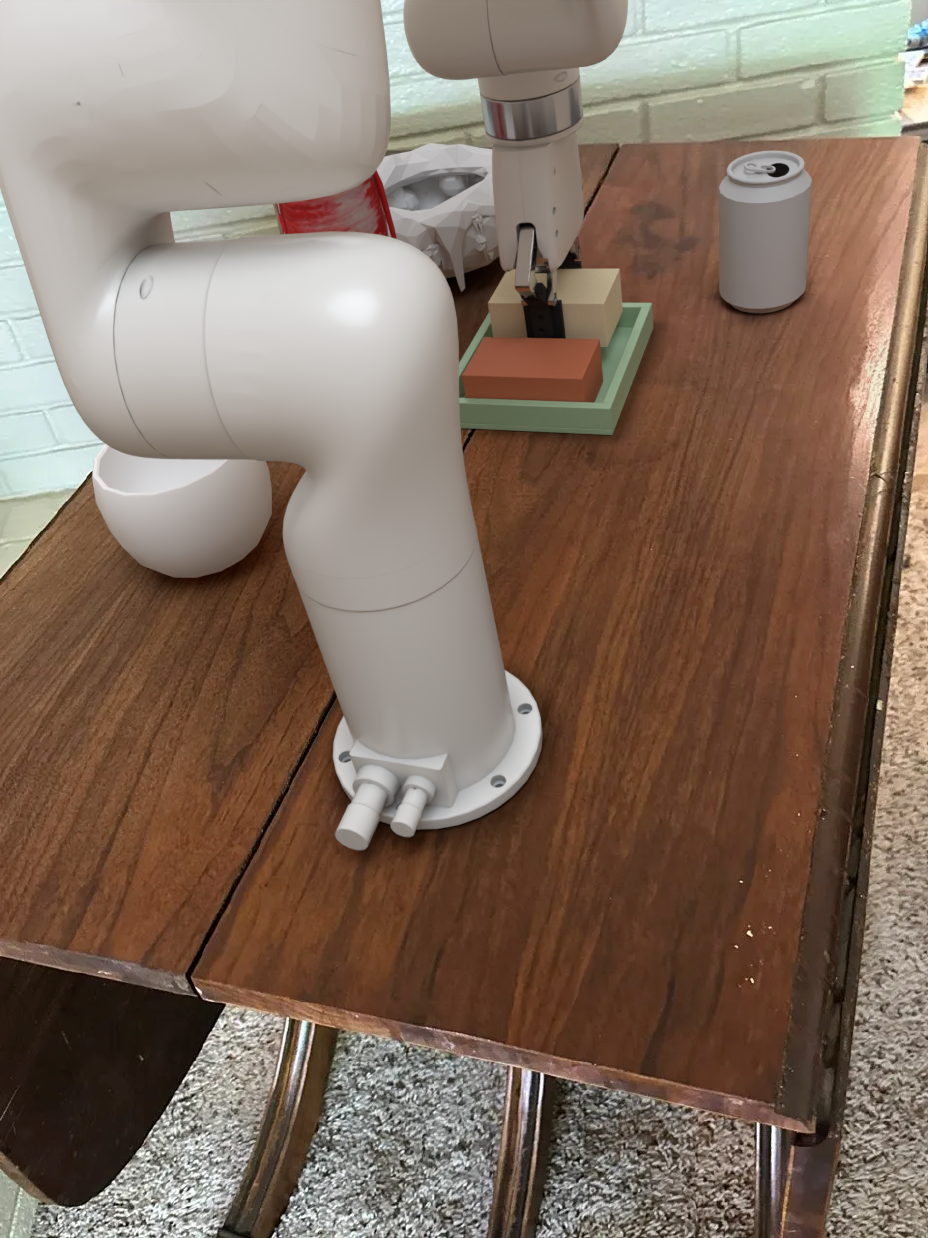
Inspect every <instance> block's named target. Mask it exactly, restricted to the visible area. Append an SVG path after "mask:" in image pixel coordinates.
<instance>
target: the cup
mask: <svg viewBox="0 0 928 1238" xmlns="http://www.w3.org/2000/svg"><path fill="white" fill-rule="evenodd" d="M271 480H272V479H271V472H270V469H269V466H268V463H267V461H257V460H181V459H154V458H143V457H137V456H132V455H128V454H125V453H122V452H120V451H117V450H115V449H113V448H111V447H110V446H108V445H107V444H105V443H104V444H103V446H102V447H101V449H100V450H99V452H98V453H97V454H96V456H95V458H94V459H93V462H92V474H91V481H92V487H93V494H94V500H95V504H96V506H97V508H98V510H99V512H100V515H101V517H102V518H103V520H104V522H105V524H106V527H107V529H108V530H109V532H110V533H111V534H112V536H113V537H114V539H116V541H117V542H118V543H119V545H120V546H121V547H122V548H123V549H124V550H125V551H126V552H127V553H128V554H129V555H130V556H131V557H132V558H133V559H134V560H135V561H136V562H137V563H138V564H139V565H140V566H141V567H145V568H148V569H150V570H152V571H155V572H158V573H160V574H163V575H166V576H169V577H171V578H179V579H180V578H181V579H182V578H183V579H185V578H189V579H190V578H191V579H194V578H195V579H196V578H200V577H204V576H209V575H213V574H216V573H221V572H223V571H225V570H226V569H229V568H231V567H232V566H233V565H235V564H237V563H239V562H241V561H242V560H244V559H245V558H246V556H248V555H249V554H250V553H251V552H252V551H253V550H254V549H256V547H257V546H259V544H260V541H261V540H262V537H263V535H264V533H265V531H266V528H267V526H268V524H269V521H270V520H271V517H272V515H273V496H272V495H273V490H272V489H273V488H272V481H271Z"/></svg>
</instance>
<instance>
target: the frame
mask: <svg viewBox="0 0 928 1238" xmlns="http://www.w3.org/2000/svg"><path fill="white" fill-rule="evenodd" d="M622 308H623V312H622V314H621V316H620V319H619V321H618V323H617V326H616V328H615V330H614V333H613V335H612V337H611V340H610V342H609V345H608V347H600V349H601V360H602V372H603V383H602V386H601V388H600V391H599V393H598V395H597V398H596V400H595V402H594V403H591V402H563V401H536V400H508V399H481V398H466V395H465V390H464V384H463V379H462V374H463V372H464V371H465V369H466V367H467V366H468V364H469V362H470V360H471V359H472V357H473V355H474V353H475V352H476V350H477V348H478V347H479V345H480V343H481V341H482V340H483V338H484V337H493V332H492V326H491V320H490V314H489V312H488V313H487V315H486V317H485V318H484V320H483V321H482V323H481V325H480V327H479V328H478V330H477V331H476V333H475V335H474V336H473V338H472V340H471V342H470V343H469V345H468V347H467V348H466V350H465V351H464V354H463V356H462V357H461V359H460V360H459V407H460V426H461V429H473V430H494V431H511V432H513V431H514V432H534V433H536V432H537V433H553V434H554V433H557V434H578V435H579V434H580V435H581V434H582V435H601V436H613V435H614V432H615V429H616V427H617V424H618V422H619V419H620V416H621V414H622V412H623V409H624V406H625V403H626V400H627V397H628V395H629V393H630V390H631V387H632V386H633V382H634V381H635V380H634V379H635V378H636V374H637V373H638V370H639V367H640V364H641V361H642V358H643V356H644V353H645V351H646V348H647V345H648V343H649V341H650V338H651V335H652V333H653V330H654V311H653V303H652V302H622Z"/></svg>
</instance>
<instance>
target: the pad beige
mask: <svg viewBox="0 0 928 1238" xmlns="http://www.w3.org/2000/svg"><path fill="white" fill-rule="evenodd" d="M515 274H516V268H514V269H513V270H511V271H510V272H504V274H503V276H502V278H501V280H500V281H499V283H498V285H497V286H496V289H495V290H494V291H493V294H492V295H491V296H490V299H489V300H488V301H487V307H488V313H489V314H490V320H491V326H492V332H493V337H502V338H527V331H526V324H525V317H524V310H523V306H522V304H521V296H520V294H519V293H518V292H517V291H516V289H515ZM535 277H536V279H537V282H538V283H543V284H544V286H545V287H546V288H547V273H538V274H535ZM621 281H622V279H621V269H620V268H582V269H557V300H562V308H563V317H564V326H565V335H566V339H600V347H608V345H609V342H610V340H611V337H612V335H613V333H614V330H615V328H616V326H617V323H618V321H619V319H620V316H621V314H622V312H623V308H622V303H623V294H622V282H621Z"/></svg>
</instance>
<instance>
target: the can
mask: <svg viewBox="0 0 928 1238" xmlns="http://www.w3.org/2000/svg"><path fill="white" fill-rule="evenodd" d="M805 165H806V162H805V161H804V158H803V157H801V156H799V155H798V154H796V153H793V152H790V151H785V150H761V151H755V152H751V153H748V154H744V155H741V156H740V157H736V159H733V161H731V162H730V163H729V164H728V165H727V167H726V169H725V170H726V176H725V177H724V178H723V179H722V180H721V181H720V183H719V186H718V288H719V289H718V290H719V295H720V297H721V298H722V299H723V300H724V301H725V302H726V303H727V304H729V305H730V306H732V307H733V308H734V309H735V310H737V311H740V312H745V313H749V314H766V313H774V312H777V311H781V310H783V309H785V308H787V307H789V306H791V305H792V304H793V303H794V302H795V301H796V300H798V299H799V298H800V297H801V296H802V295H803V294H804V293H805V291H806V289H807V288H806V287H807V281H808V280H807V279H808V263H809V262H808V260H809V245H810V243H809V242H810V225H811V223H810V222H811V205H812V191H813V190H812V189H813V179H812V177H811V175H810V173H808V171H807V170H806V169H805Z"/></svg>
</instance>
